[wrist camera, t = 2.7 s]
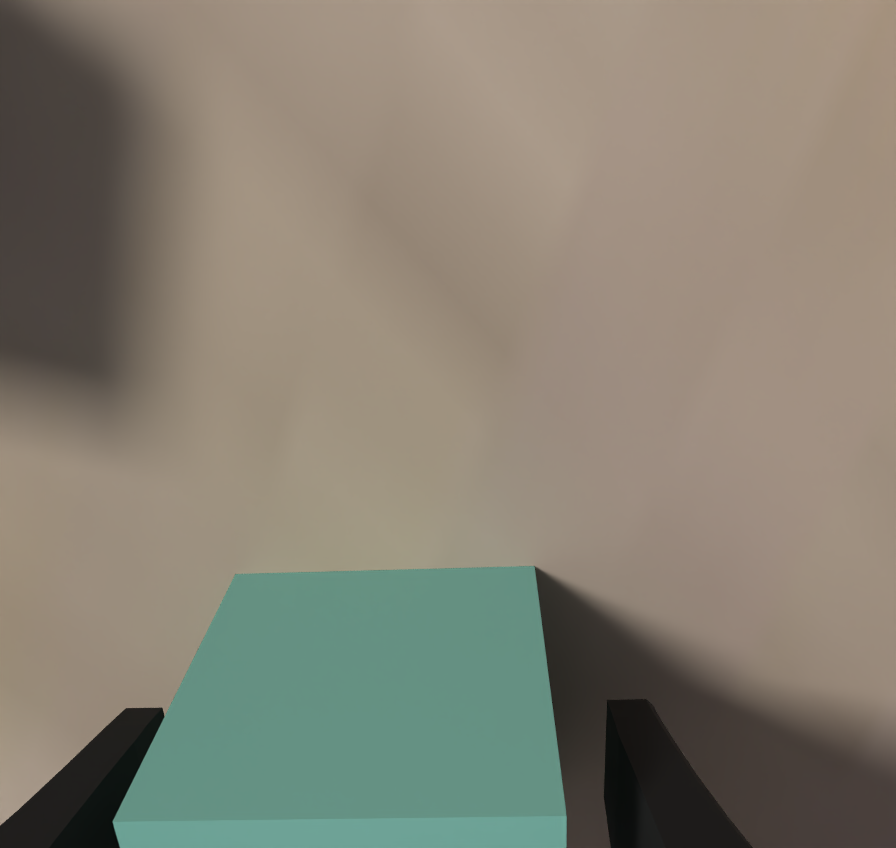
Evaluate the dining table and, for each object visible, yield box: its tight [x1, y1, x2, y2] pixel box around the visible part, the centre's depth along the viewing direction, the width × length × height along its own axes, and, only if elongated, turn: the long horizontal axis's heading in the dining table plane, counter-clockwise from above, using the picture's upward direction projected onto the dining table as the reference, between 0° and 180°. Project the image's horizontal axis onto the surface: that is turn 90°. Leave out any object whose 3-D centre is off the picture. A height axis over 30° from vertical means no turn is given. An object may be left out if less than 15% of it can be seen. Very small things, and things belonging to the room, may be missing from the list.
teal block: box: [113, 566, 567, 848], centre depth 12 cm, size 5×5×5 cm
